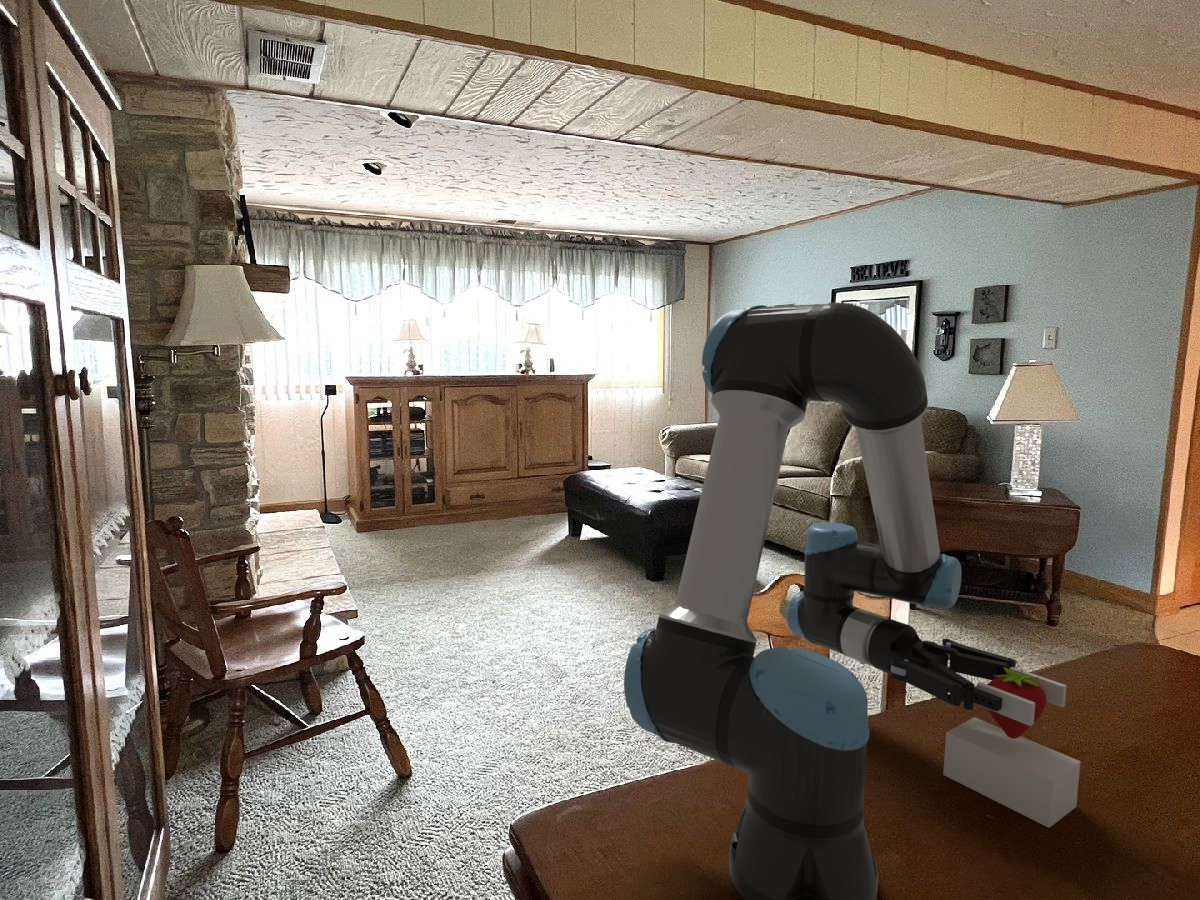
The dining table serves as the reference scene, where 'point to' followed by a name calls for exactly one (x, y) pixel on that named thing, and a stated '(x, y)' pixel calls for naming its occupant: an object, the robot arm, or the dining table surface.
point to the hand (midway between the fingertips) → (1048, 705)
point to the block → (1012, 771)
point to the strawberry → (1022, 689)
